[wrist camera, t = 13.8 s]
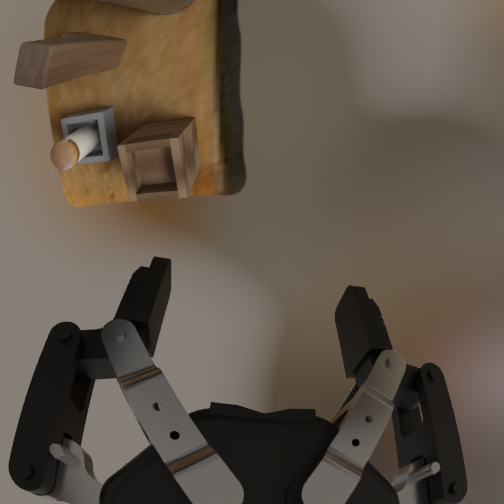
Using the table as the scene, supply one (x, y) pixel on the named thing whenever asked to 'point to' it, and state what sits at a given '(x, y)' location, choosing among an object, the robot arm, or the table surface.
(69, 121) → the low socket
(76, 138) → the white and tan cylinder
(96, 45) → the wooden block
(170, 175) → the socket tower
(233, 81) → the table surface
